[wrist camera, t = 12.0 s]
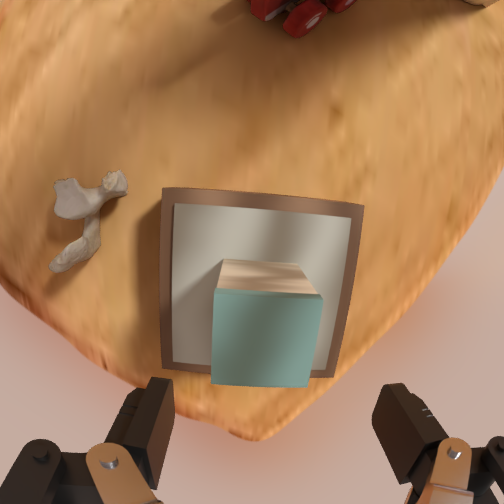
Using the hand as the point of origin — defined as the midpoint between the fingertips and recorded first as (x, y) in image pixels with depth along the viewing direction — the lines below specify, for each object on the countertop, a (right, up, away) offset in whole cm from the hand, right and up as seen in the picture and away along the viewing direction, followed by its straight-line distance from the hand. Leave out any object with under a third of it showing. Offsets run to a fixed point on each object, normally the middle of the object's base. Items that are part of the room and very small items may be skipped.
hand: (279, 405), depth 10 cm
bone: (-14, +10, +14) cm, 22 cm away
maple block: (-1, +3, +11) cm, 12 cm away
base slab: (-1, +3, +15) cm, 16 cm away
